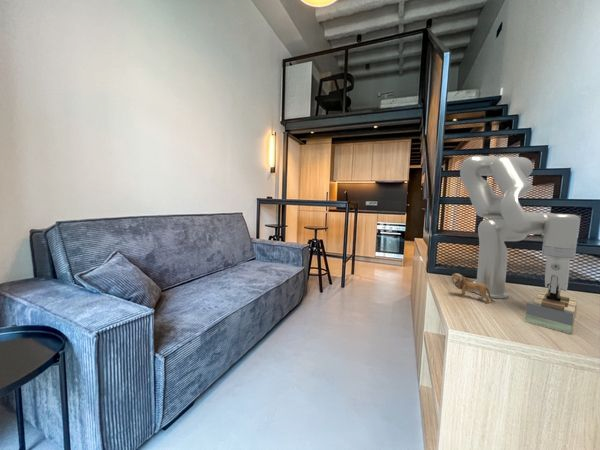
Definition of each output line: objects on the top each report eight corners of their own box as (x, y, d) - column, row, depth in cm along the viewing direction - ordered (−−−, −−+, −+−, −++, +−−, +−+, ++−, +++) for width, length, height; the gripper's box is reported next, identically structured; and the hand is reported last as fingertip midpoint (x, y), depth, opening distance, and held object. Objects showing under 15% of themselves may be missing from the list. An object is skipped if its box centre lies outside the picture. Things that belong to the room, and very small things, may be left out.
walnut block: (562, 321, 76) (564, 306, 76) (539, 315, 80) (541, 301, 80) (563, 316, 80) (565, 302, 79) (541, 311, 83) (543, 298, 83)
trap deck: (571, 334, 74) (572, 325, 73) (525, 321, 81) (526, 314, 81) (575, 305, 96) (576, 298, 96) (539, 297, 104) (540, 291, 103)
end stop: (572, 325, 73) (573, 314, 73) (526, 314, 81) (527, 303, 81) (572, 324, 74) (573, 312, 74) (526, 312, 82) (528, 302, 82)
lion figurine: (449, 295, 103) (450, 273, 102) (451, 292, 107) (452, 271, 107) (494, 305, 94) (496, 281, 93) (494, 301, 98) (497, 278, 98)
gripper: (574, 257, 74) (567, 319, 75) (576, 252, 84) (570, 306, 85) (539, 253, 79) (533, 310, 81) (544, 248, 89) (539, 299, 91)
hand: (552, 308), depth 83 cm, fingers closed
